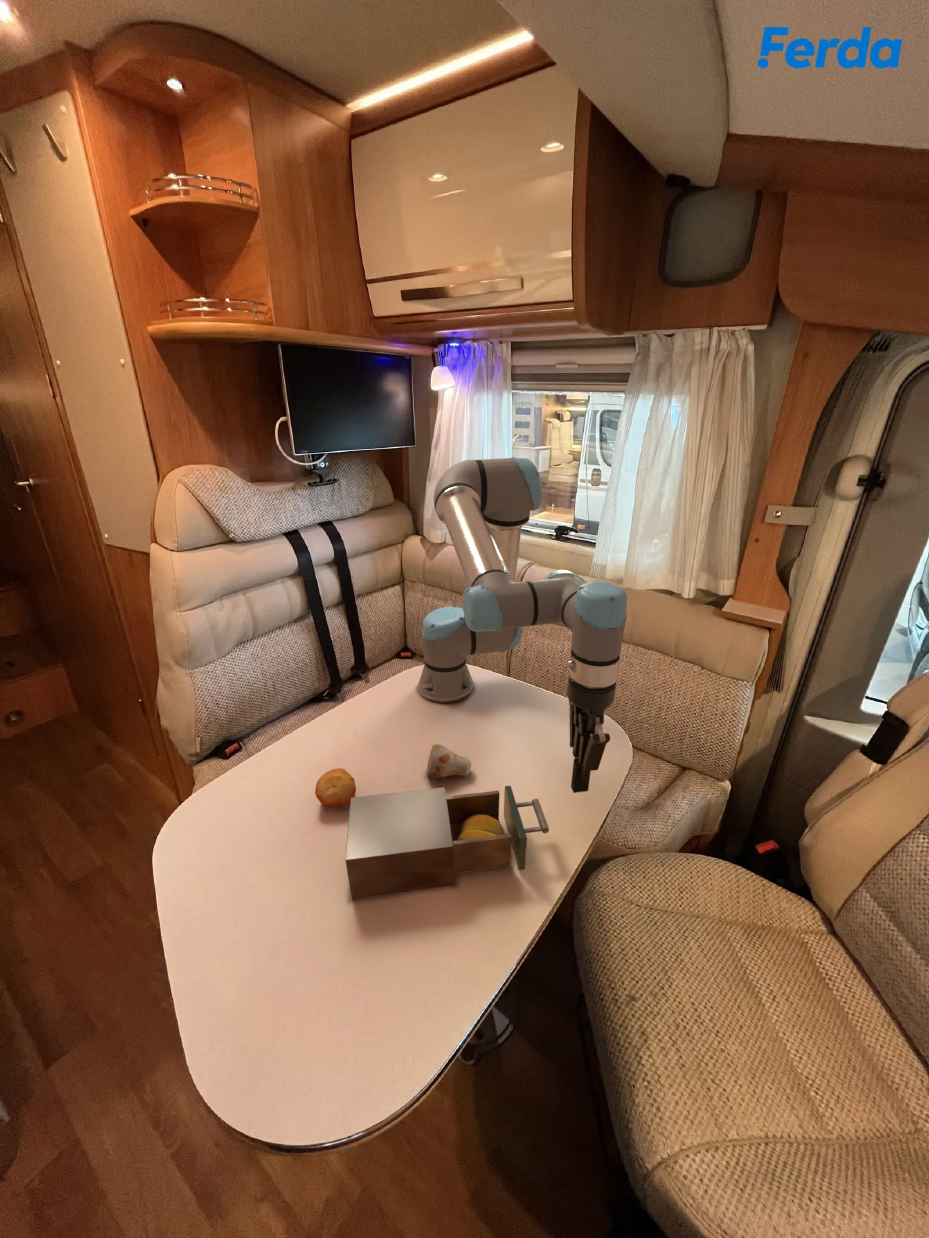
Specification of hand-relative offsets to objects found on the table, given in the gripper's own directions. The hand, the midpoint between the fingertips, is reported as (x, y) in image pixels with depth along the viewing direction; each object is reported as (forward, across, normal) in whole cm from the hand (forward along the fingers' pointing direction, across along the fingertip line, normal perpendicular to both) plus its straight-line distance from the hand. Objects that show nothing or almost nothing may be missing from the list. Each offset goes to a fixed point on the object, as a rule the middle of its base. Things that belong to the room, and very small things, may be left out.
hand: (579, 788), depth 90 cm
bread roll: (+11, 0, -18) cm, 21 cm away
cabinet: (+12, 0, -33) cm, 35 cm away
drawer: (+11, 0, -17) cm, 20 cm away
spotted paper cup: (+12, -21, -22) cm, 33 cm away
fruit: (+12, -16, -46) cm, 50 cm away
